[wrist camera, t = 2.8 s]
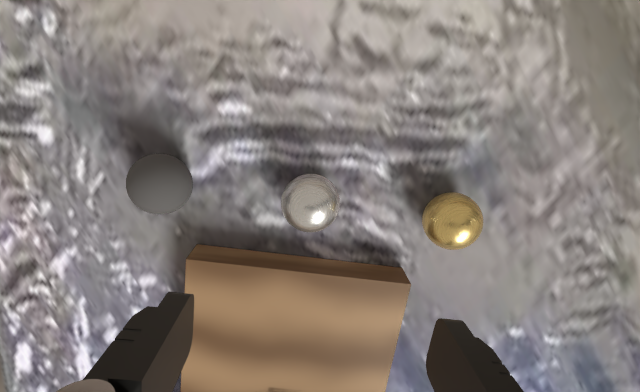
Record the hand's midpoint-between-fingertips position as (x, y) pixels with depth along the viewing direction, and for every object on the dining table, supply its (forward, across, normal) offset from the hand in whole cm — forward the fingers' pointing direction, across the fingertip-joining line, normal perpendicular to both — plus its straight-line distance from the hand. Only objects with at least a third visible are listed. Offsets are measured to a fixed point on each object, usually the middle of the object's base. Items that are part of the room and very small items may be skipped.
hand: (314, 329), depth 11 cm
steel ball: (+13, 0, 0) cm, 13 cm away
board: (+15, 0, +15) cm, 21 cm away
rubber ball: (+13, +10, 0) cm, 16 cm away
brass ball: (+13, -10, 0) cm, 16 cm away
